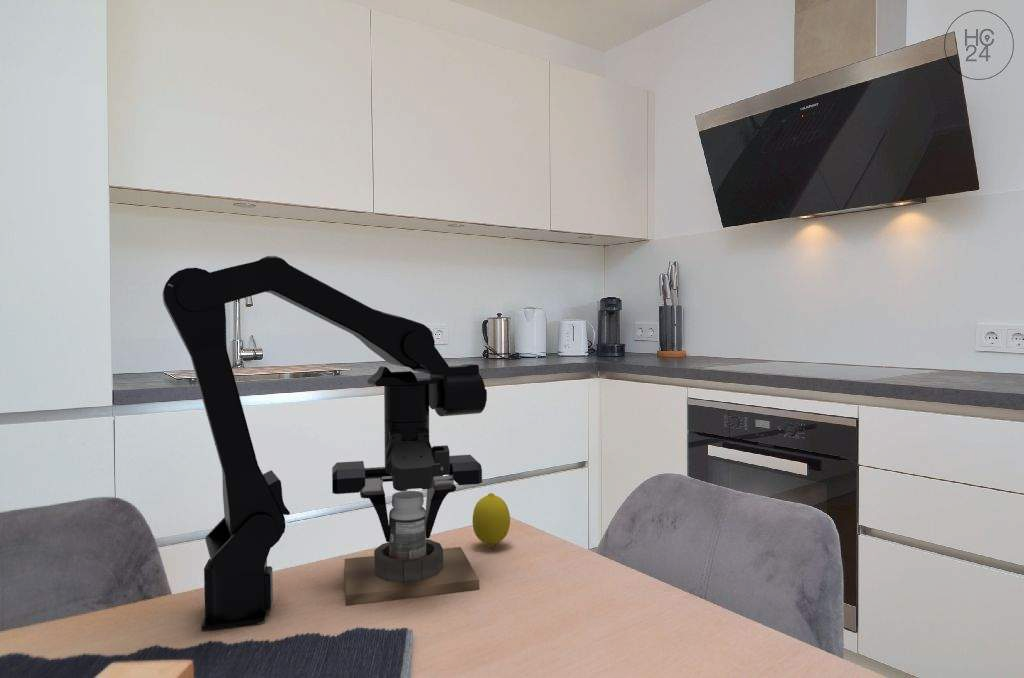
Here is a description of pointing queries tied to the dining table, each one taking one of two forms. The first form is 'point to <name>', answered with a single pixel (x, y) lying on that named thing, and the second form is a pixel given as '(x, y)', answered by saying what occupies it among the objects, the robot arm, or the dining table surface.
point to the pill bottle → (407, 526)
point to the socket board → (408, 575)
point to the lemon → (491, 519)
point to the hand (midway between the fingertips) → (407, 539)
